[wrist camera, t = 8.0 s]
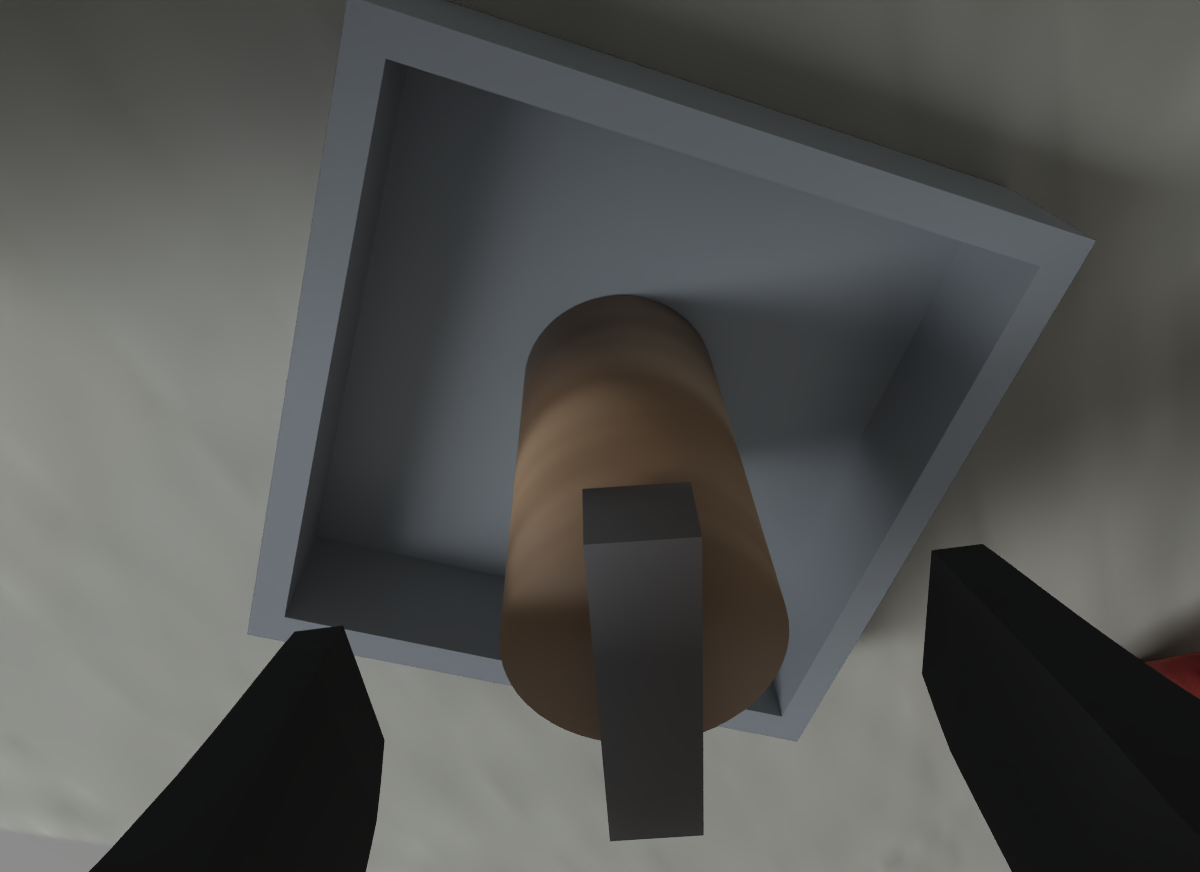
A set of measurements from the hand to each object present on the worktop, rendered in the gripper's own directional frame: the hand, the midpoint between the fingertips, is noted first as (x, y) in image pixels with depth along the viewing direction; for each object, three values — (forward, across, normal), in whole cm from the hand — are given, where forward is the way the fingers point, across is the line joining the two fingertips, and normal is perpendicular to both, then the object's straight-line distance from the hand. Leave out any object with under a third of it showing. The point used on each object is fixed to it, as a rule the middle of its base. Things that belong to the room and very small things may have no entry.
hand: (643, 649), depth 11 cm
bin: (+8, 0, 0) cm, 8 cm away
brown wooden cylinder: (+7, 0, 0) cm, 7 cm away
